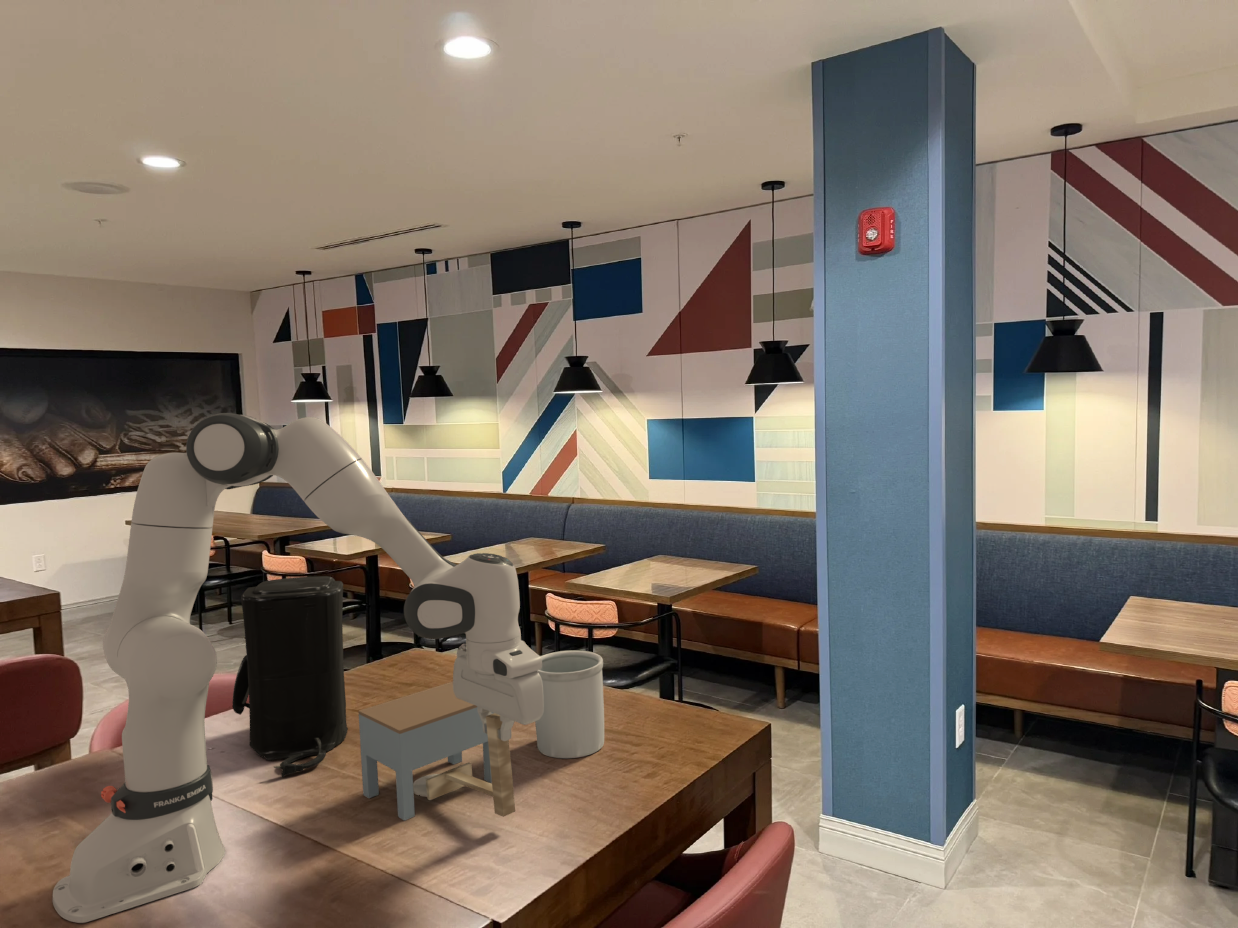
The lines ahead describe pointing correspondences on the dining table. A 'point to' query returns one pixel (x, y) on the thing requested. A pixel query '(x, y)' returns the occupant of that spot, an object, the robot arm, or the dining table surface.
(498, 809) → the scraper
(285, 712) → the coffee maker
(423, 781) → the smooth oval stone
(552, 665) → the utensil holder
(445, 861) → the dining table surface
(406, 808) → the wooden top stool
